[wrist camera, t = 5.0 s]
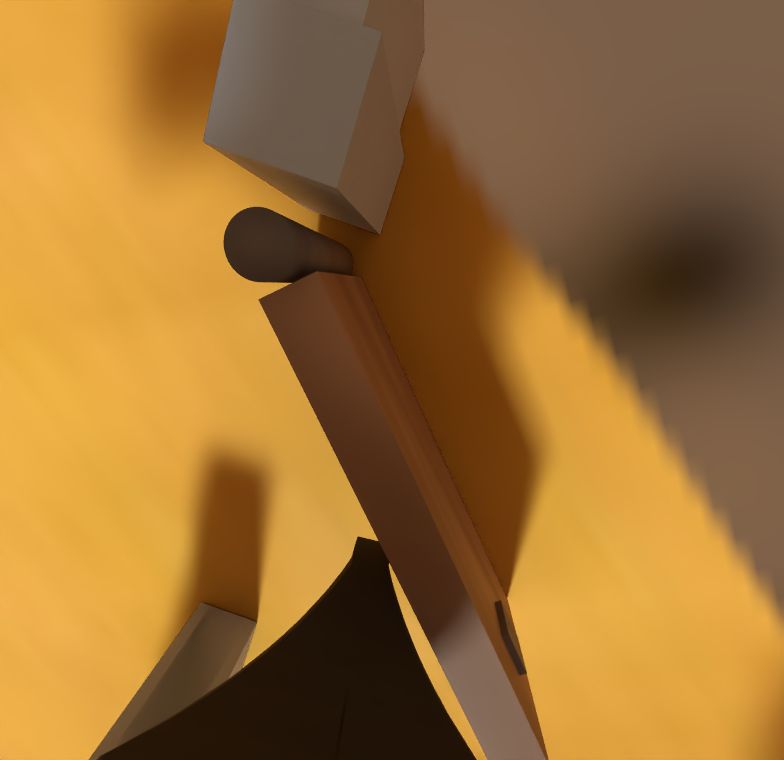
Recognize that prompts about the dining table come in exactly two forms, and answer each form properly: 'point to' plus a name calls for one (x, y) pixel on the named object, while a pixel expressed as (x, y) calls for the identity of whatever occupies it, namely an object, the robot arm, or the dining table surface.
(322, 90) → the wall
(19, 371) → the dining table surface
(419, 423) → the door
